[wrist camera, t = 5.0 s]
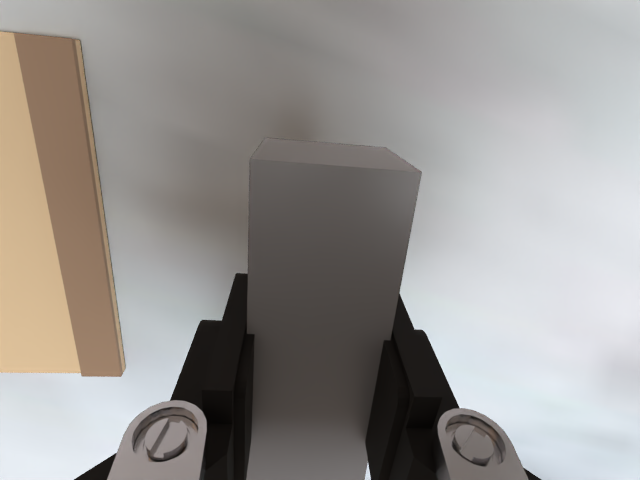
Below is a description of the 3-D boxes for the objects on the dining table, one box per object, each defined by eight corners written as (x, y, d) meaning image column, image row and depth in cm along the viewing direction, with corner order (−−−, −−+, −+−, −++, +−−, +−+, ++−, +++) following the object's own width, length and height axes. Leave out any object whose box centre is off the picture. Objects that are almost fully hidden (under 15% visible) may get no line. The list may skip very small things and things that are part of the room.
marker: (265, 137, 9) (249, 158, 6) (385, 147, 9) (421, 171, 7) (255, 438, 13) (243, 534, 10) (342, 439, 13) (353, 534, 10)
